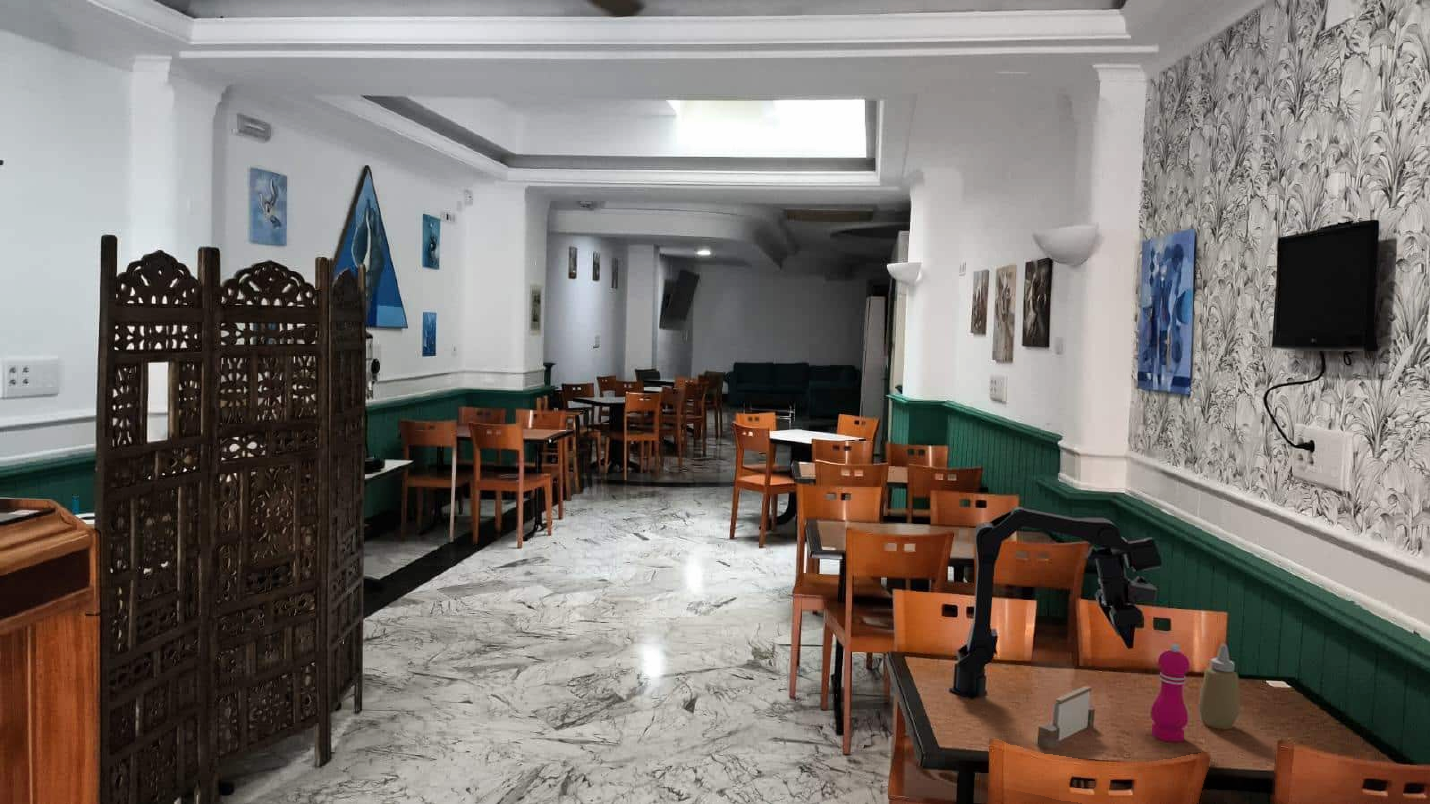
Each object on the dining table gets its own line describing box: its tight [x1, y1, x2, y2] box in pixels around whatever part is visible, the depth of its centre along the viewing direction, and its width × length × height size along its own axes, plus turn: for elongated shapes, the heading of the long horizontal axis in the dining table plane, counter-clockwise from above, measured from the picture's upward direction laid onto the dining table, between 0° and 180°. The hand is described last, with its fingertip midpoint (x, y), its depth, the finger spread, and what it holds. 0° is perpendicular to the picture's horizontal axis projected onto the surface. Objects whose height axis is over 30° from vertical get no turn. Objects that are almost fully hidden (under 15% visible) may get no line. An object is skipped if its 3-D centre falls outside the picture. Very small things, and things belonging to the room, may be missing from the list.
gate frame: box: [1036, 706, 1096, 751], centre depth 207 cm, size 3×19×4 cm, turn 132°
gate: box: [1052, 685, 1092, 742], centre depth 207 cm, size 1×14×9 cm, turn 133°
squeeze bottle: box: [1198, 643, 1240, 730], centre depth 217 cm, size 8×8×18 cm
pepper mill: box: [1150, 643, 1190, 743], centre depth 209 cm, size 7×7×20 cm
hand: (1125, 641), depth 223 cm, fingers open, 9 cm apart
